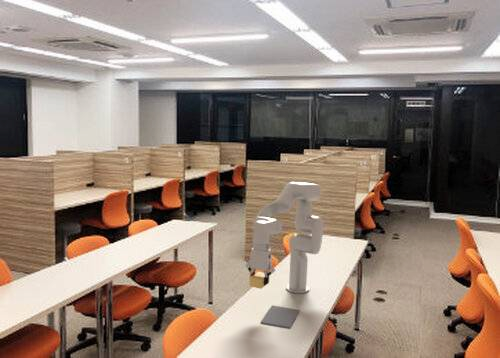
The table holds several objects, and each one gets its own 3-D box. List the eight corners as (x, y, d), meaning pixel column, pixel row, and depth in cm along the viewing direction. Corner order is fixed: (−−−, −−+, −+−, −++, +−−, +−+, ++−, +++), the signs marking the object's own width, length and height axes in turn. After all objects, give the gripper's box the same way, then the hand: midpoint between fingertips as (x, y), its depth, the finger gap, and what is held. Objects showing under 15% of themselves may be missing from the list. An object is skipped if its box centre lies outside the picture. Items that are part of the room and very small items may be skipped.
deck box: (258, 280, 223) (258, 271, 223) (269, 282, 221) (269, 273, 220) (249, 286, 215) (249, 277, 215) (260, 288, 213) (261, 279, 212)
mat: (272, 306, 228) (272, 305, 228) (299, 310, 224) (299, 309, 224) (260, 323, 209) (260, 321, 209) (290, 328, 205) (290, 327, 205)
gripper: (280, 247, 215) (279, 284, 217) (248, 241, 223) (247, 277, 225) (273, 251, 208) (272, 289, 211) (241, 245, 216) (240, 281, 219)
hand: (259, 282), depth 218 cm, fingers closed on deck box, 6 cm apart
